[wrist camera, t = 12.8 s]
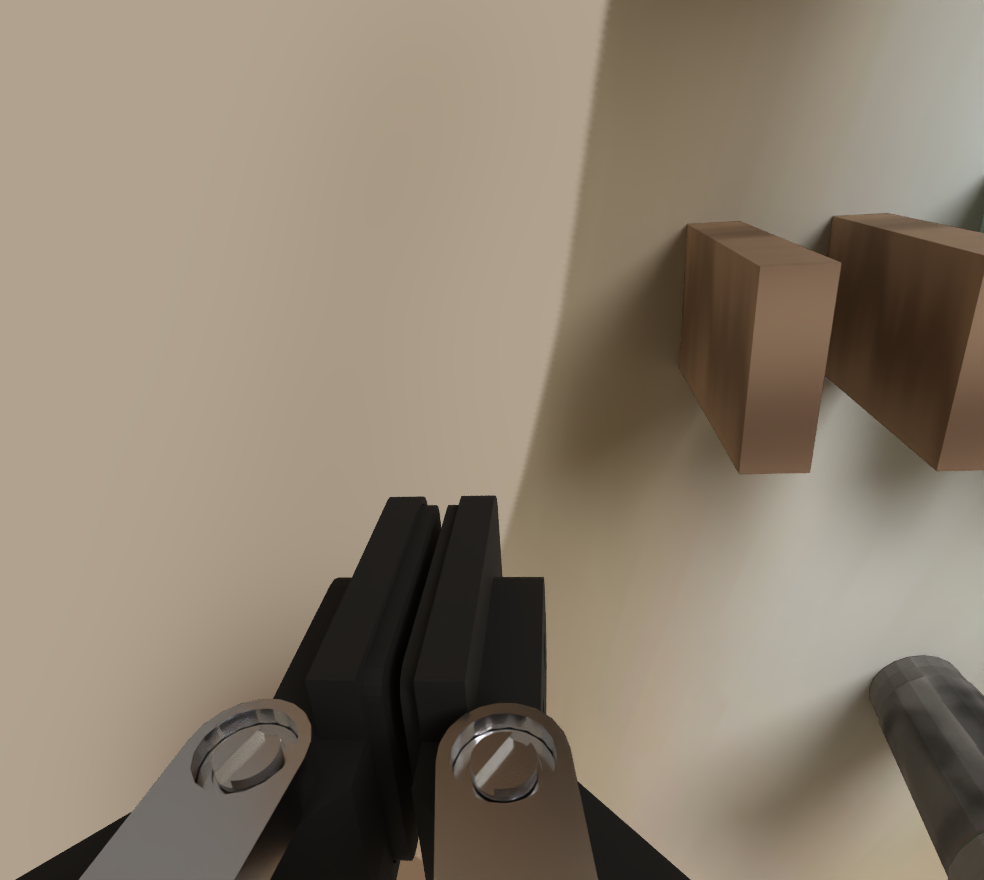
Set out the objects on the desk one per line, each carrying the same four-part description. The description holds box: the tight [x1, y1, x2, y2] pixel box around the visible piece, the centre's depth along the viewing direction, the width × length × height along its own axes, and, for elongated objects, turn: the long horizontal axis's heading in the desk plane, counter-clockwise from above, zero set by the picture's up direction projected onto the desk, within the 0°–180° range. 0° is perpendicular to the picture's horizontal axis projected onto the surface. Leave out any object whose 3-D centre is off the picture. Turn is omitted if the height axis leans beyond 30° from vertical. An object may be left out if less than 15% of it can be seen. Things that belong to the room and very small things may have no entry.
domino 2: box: [825, 213, 984, 471], centre depth 22 cm, size 6×2×10 cm, turn 4°
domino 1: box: [679, 221, 841, 474], centre depth 23 cm, size 6×2×10 cm, turn 4°
